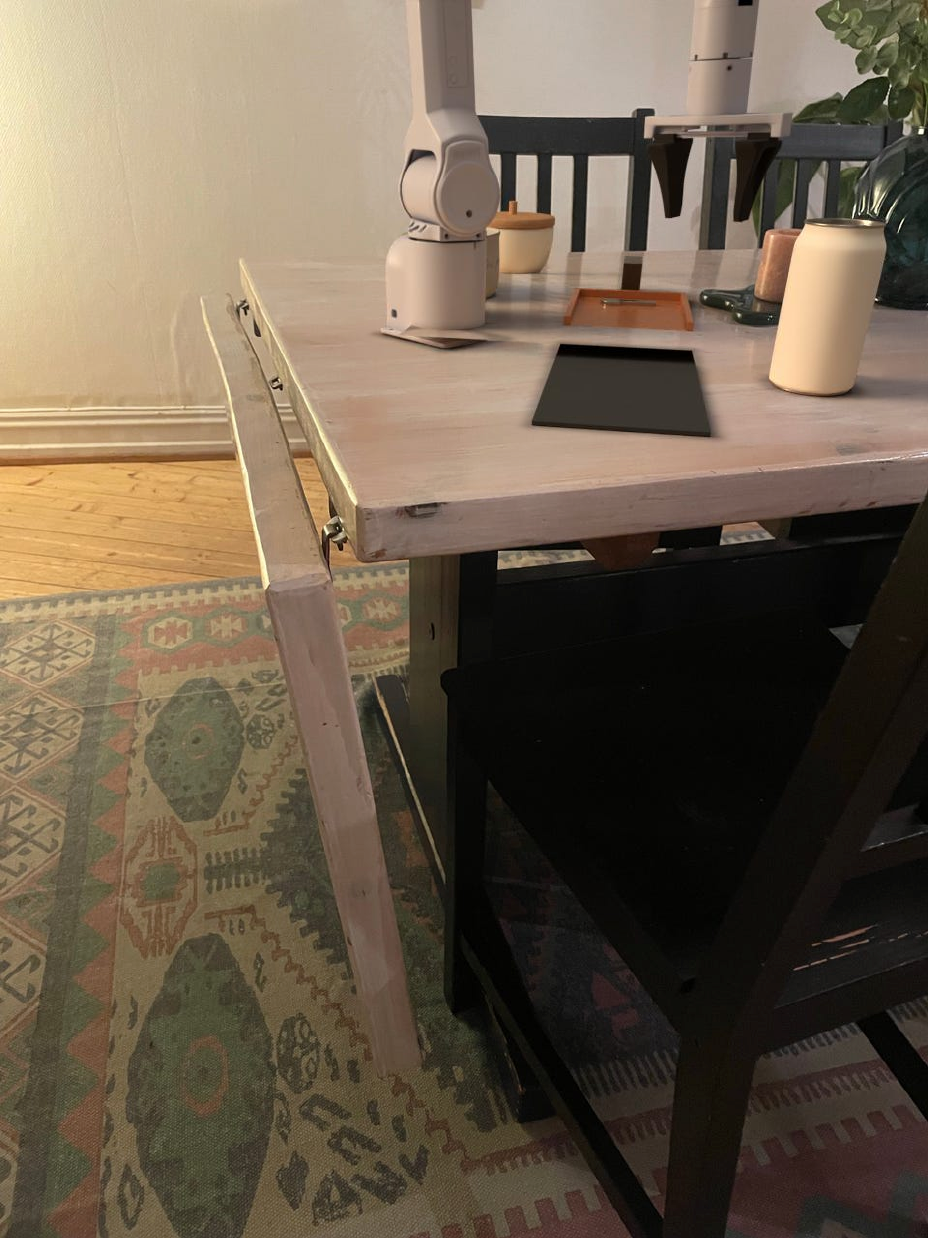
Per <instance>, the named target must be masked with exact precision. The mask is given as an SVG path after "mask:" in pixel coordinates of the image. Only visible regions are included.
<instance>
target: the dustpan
mask: <svg viewBox="0 0 928 1238" xmlns="http://www.w3.org/2000/svg"><path fill="white" fill-rule="evenodd" d="M642 270H643V256H640V255H639V256H636V255H635V256H634V255H624V258H623V266H622V278H621V285H620V289H618V288H617V289H615V288H591V287H575V288H574V290H573V293H572V296H571V298H570V300H569V302H568V304H567V308H566V310H565V312H564V315H563V326H575V327H595V328H596V327H597V328H617V329H635V330H659V331H660V330H661V331H676V332H677V331H678V332H680V331H681V332H693V331H694V325H695V320H694V317H693V313H692V310H691V305H690V302H689V298H688V295H687V292H685V291H663V290H640V289H641V281H642ZM603 298H618V299H622V300H640V301H656V307H655V306H633V305H620V306H607V305H602V304H601V303H600V302H601V299H603Z"/></svg>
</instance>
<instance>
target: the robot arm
mask: <svg viewBox="0 0 928 1238" xmlns="http://www.w3.org/2000/svg"><path fill="white" fill-rule="evenodd" d="M693 3H694V4H693V17H692V29H691V30H692V31H691V42H690V54H689V55H690V56H689V67H688V68H689V69H688V80H687V92H686V93H687V94H686V105H685V114H671V115H651V116H650V115H649V116H645V117H644V133H643V139H653V140H652V142H651V143H647V144H646V153H647V154H648V156H649V159H650V161H651V163H652V165H653V168H654V170H655V174H656V178H657V181H658V184H659V189H660V193H661V198H662V206H663V212H664V219H675V218H679V217H681V214H682V210H683V204H684V203H683V201H684V191H685V179H686V173H687V167H688V163H689V158H690V155H691V150H692V147H693V144H694V138H746V139H740V140H735V143H734V148H735V149H734V150H735V160H736V161H735V162H736V183H735V184H736V185H735V193H734V202H733V210H732V218H733V219H732V221H733V223H742V222H746V221H749V220H750V216H751V213H752V209H753V207H754V204H755V201H756V197H757V195H758V193H759V190H760V187H761V185H762V182H764V181H763V180H764V178H765V177H766V174H767V173H768V170H769V169H770V167H771V165H772V163H773V161H774V160H775V158H776V156H777V155H778V154H779V152H780V151H781V148H782V147H783V140H782V139H780V138H784V137H790V136H791V128H792V121H793V115H794V113H793V111H791V112H789V111H787V112H748V106H749V96H750V87H751V78H752V69H753V62H754V61H753V58H754V51H755V44H756V43H755V42H756V34H757V27H758V26H757V25H758V24H757V23H758V15H759V8H760V0H694V2H693ZM472 6H473V5H472V0H405V8H406V11H405V12H406V25H407V38H408V51H409V54H408V55H409V67H410V81H411V96H412V97H411V98H412V109H413V110H412V111H413V116H412V118H411V122H410V125H409V127H408V129H407V131H406V135H405V138H404V163H403V167H402V169H401V173H400V175H399V179H398V186H397V187H398V188H397V191H398V200H399V203H400V206H401V208H402V210H403V212H404V214H405V215H406V216H407V217H408V219H410V221H409V224H408V225H407V226H408V228H407V232H408V234H405V235H402V236H401V237H399V236H398V238H395V240H394V241H393V243H391V246H390V247H389V250H388V252H387V254H386V258H385V291H386V292H385V295H386V296H385V297H386V301H385V302H386V326H381V327H380V333H381V334H386V335H389V336H392V337H397V338H401V339H405V340H409V341H412V342H417V343H419V344H420V343H421V344H425V345H428V346H432V347H436V348H440V349H451V348H455V347H460V346H466V345H470V344H476V343H481V342H485V341H487V339H482V338H481V339H480V338H463V337H462V338H461V337H460V338H459V337H445V336H444V337H443V336H424V335H423V336H422V335H404V334H403V333H405V331H406V330H407V329H408V328H409V327H411V326H414V327H417V328H422V329H428V330H438V331H459V330H470V329H476V328H479V327H482V326H484V325H485V323H486V298H485V294H486V252H487V239H486V236H487V231H486V228H487V227H488V226H489V225H490V223H491V222H492V221H493V219H494V217H495V215H496V213H497V212H498V211H499V208H500V207H499V206H500V201H501V188H500V183H499V180H498V176H497V175H496V173H495V170H494V168H493V166H492V163H491V159H490V154H489V153H490V151H489V139H488V135H487V134H486V132H485V129H484V127H483V125H482V123H481V121H480V119H479V116H478V114H477V111H476V89H475V88H476V87H475V86H476V85H475V61H474V38H473V37H474V36H473V35H474V34H473V10H472V9H473V8H472ZM710 126H712V127H715V126H729V127H728V129H729V130H702V131H701V127H710ZM694 130H699V131H694ZM402 334H403V335H402Z"/></svg>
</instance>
